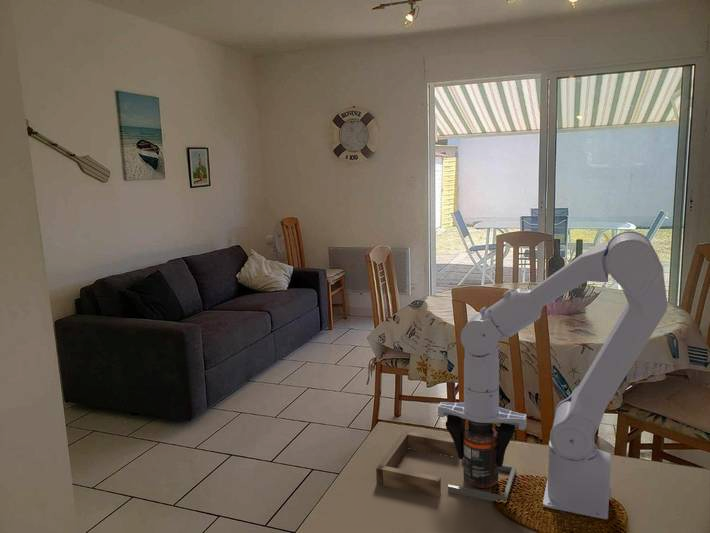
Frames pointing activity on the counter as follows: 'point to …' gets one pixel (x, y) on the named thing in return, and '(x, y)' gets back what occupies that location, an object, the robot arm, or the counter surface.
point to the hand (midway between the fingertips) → (480, 460)
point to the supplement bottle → (480, 455)
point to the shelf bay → (410, 479)
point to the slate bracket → (484, 494)
